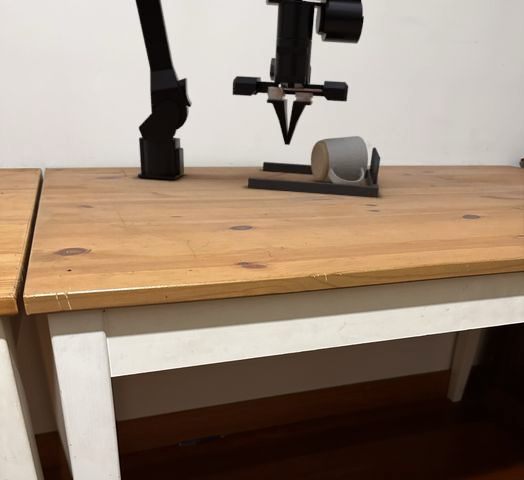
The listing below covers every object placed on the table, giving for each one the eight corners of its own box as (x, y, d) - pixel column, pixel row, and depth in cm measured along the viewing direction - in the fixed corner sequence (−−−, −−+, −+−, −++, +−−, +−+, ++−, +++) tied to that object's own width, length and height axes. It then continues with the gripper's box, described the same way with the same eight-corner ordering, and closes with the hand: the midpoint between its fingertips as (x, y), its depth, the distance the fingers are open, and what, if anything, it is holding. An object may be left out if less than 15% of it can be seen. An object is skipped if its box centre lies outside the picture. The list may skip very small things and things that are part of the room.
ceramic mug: (306, 178, 95) (310, 133, 91) (346, 177, 98) (352, 133, 94) (331, 191, 86) (336, 141, 83) (374, 190, 89) (381, 142, 85)
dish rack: (247, 187, 85) (248, 150, 83) (263, 169, 102) (264, 138, 99) (377, 197, 83) (382, 159, 80) (372, 177, 100) (376, 145, 97)
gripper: (352, 45, 89) (341, 143, 96) (245, 40, 91) (242, 136, 98) (353, 41, 79) (341, 150, 87) (232, 36, 81) (231, 142, 89)
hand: (287, 144), depth 90 cm, fingers closed
